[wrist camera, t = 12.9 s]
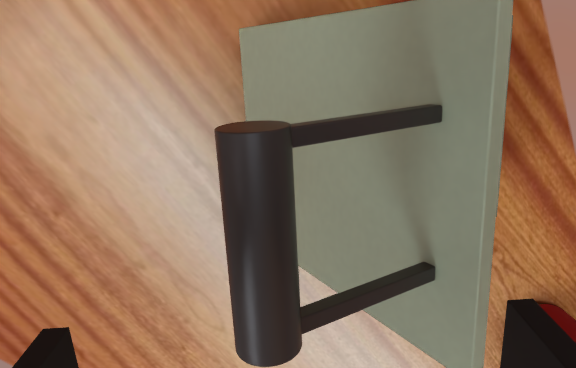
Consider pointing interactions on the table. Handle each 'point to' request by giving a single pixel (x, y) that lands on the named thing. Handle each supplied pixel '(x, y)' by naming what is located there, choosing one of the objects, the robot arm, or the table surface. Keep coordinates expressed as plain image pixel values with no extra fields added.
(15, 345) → the table surface
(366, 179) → the lid
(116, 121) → the table surface
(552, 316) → the beverage can
